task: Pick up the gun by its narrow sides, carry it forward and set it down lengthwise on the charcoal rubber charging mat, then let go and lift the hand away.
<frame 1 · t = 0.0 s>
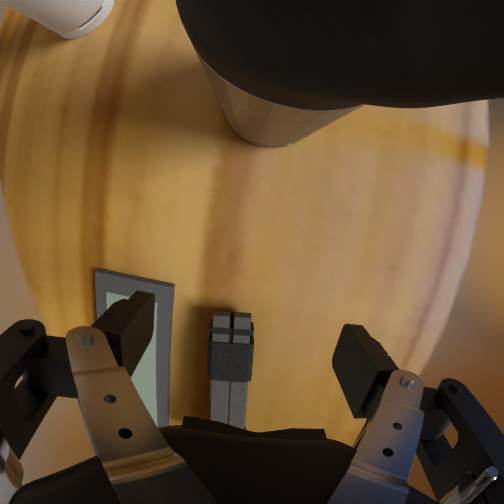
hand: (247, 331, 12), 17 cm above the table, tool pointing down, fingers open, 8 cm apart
bottle: (86, 12, 20), on the table
gun: (230, 377, 33), on the table
charging mat: (135, 366, 32), on the table
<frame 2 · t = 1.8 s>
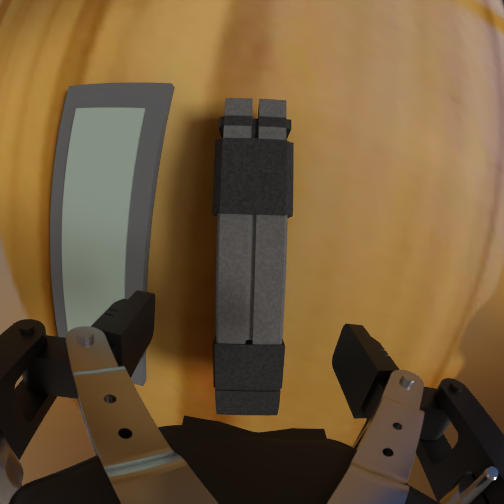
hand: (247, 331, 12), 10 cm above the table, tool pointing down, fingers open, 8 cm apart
gun: (249, 255, 22), on the table
charging mat: (98, 243, 21), on the table
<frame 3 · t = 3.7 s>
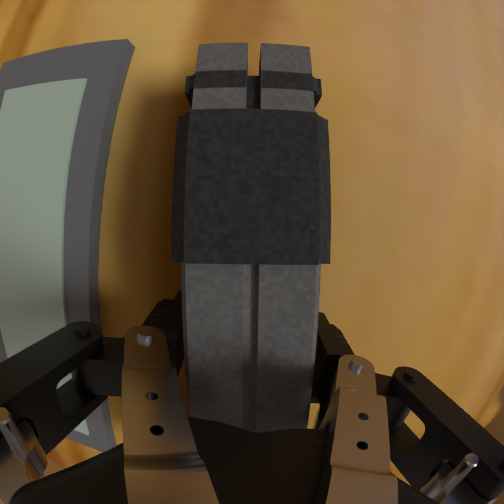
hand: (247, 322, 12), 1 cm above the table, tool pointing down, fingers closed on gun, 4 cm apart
gun: (248, 310, 13), on the table, touching gripper
charging mat: (34, 281, 13), on the table
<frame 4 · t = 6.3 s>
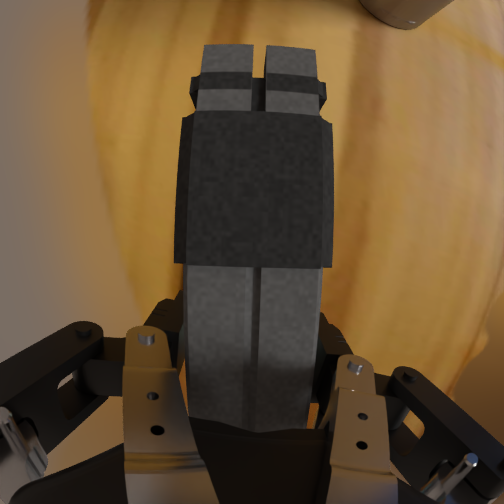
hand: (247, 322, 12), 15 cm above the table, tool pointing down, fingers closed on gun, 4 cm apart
gun: (248, 312, 13), point 14 cm above the table, touching gripper
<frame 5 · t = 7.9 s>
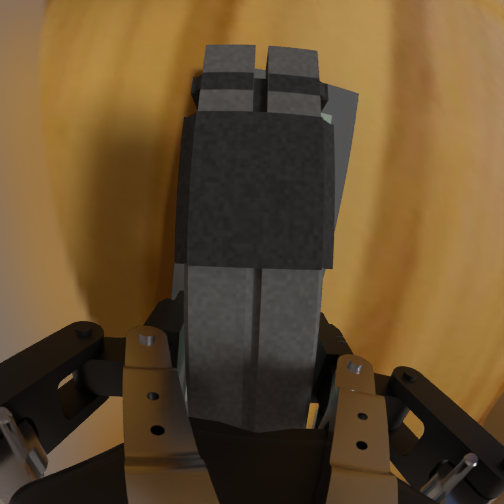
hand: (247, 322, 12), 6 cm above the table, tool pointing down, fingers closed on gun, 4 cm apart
gun: (248, 312, 13), point 5 cm above the table, touching gripper
charging mat: (247, 275, 18), on the table
when the fingers open (3 cm above the table, at t = 9.3 s): gun drops 1 cm, resting on charging mat.
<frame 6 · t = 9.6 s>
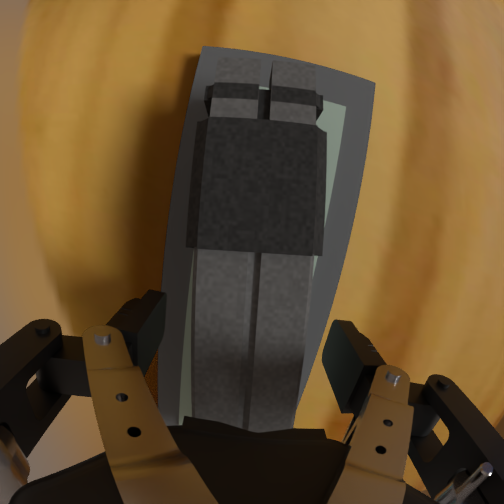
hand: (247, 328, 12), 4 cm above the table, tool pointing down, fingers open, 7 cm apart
gun: (247, 299, 15), point 1 cm above the table, touching charging mat
charging mat: (247, 292, 16), on the table
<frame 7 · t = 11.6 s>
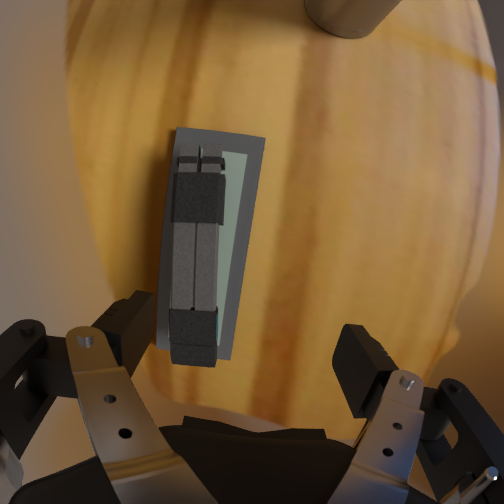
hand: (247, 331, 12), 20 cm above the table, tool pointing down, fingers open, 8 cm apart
gun: (202, 252, 30), point 1 cm above the table, touching charging mat
charging mat: (204, 250, 31), on the table
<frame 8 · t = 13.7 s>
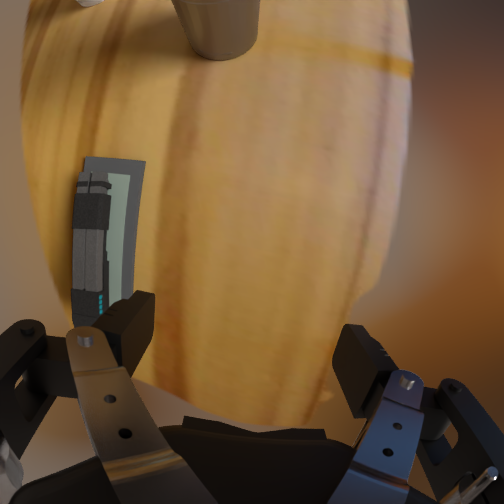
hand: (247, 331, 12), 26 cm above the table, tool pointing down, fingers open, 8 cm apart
gun: (103, 249, 36), point 1 cm above the table, touching charging mat
charging mat: (106, 248, 37), on the table
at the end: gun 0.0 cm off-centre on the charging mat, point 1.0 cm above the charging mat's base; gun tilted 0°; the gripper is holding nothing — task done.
